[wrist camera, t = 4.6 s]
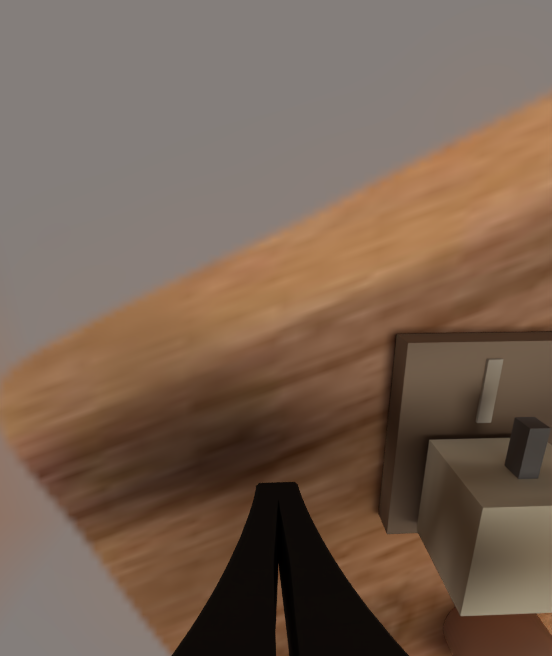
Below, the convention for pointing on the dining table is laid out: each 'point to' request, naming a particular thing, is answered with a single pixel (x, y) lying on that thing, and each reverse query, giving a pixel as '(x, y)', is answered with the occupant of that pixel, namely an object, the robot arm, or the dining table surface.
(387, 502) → the board
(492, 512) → the birch slider
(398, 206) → the dining table surface
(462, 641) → the terracotta cylinder
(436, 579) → the dining table surface
